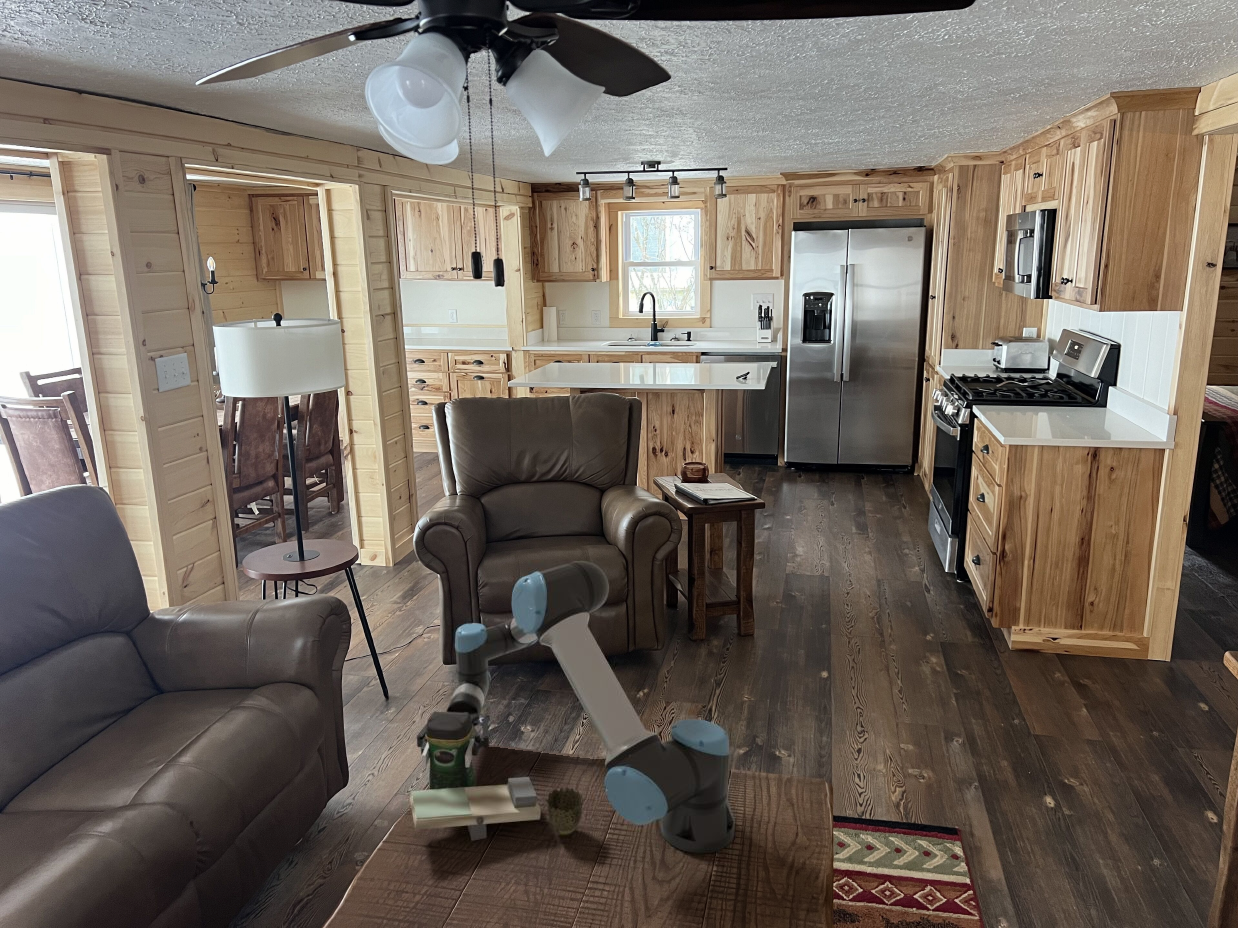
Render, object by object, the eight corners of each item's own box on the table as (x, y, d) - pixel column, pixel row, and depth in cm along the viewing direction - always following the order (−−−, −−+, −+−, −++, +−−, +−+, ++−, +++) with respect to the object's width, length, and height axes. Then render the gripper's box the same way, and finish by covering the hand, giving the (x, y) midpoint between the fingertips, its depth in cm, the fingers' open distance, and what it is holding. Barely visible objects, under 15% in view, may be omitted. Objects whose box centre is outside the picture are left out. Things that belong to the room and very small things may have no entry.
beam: (540, 820, 175) (543, 801, 174) (415, 830, 166) (417, 810, 166) (527, 789, 185) (530, 771, 184) (409, 798, 176) (411, 778, 176)
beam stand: (486, 837, 174) (486, 820, 173) (471, 840, 173) (471, 823, 172) (480, 816, 181) (479, 800, 180) (465, 819, 180) (465, 802, 179)
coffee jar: (479, 783, 190) (476, 707, 186) (468, 805, 182) (465, 726, 178) (436, 780, 191) (433, 704, 187) (424, 801, 183) (420, 722, 179)
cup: (578, 846, 172) (577, 811, 170) (542, 841, 173) (541, 806, 171) (586, 823, 179) (586, 789, 177) (552, 818, 180) (552, 784, 178)
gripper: (510, 721, 203) (496, 777, 180) (421, 720, 203) (396, 776, 181) (510, 692, 201) (495, 745, 179) (419, 691, 201) (394, 744, 179)
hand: (445, 761), depth 180 cm, fingers closed on coffee jar, 8 cm apart
